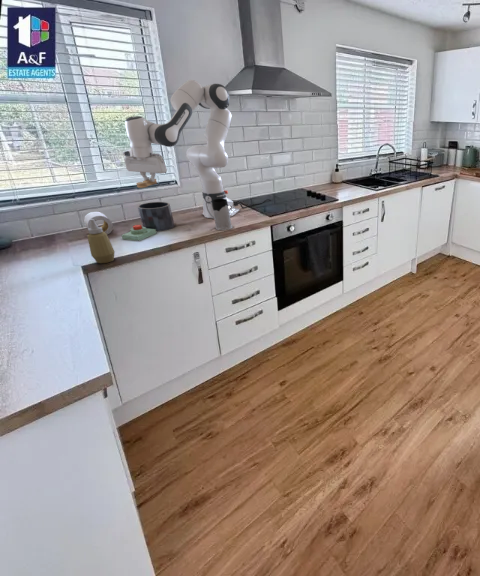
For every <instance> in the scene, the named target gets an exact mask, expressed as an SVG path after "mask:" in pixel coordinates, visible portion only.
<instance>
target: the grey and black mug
mask: <svg viewBox="0 0 480 576" xmlns="http://www.w3.org/2000/svg"><path fill="white" fill-rule="evenodd" d="M207 202H210V203H211V205H212V208H213V213H214V217H213V216H212V214H211V213H210V211H209V209H208V206H207ZM207 202H206V207H207V210H208V212H209V214H210V215H211V216H212V217H213V218H212V219H213V220H214V223H215V230H217V231H228V230H231V229H233V225H232V221H231V217H230V213H229V207H228V203H227V199H214V200H212V202H211V201H207Z"/></svg>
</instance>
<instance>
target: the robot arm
mask: <svg viewBox="0 0 480 576" xmlns="http://www.w3.org/2000/svg"><path fill="white" fill-rule="evenodd" d="M170 104H171V106H172V108H173V110H174V111H175V112H174V114H173V115H172V117H171V118H170V120H169V121H168V122H166V123H161V124H160V123H155V122H152V121H149V120H147V119H146V118H144V117H143V116H141V115H135V116H130V117H127V118H126V119H125V120H124V124H125V131H126V135H127V138H128V140H129V143H130V144H129V147H130V149H127V150H124V151H122V156H123V157H124V158H123V159H124V165H125V169H126V170H127V171H128V172H133V173H139V174H140V176H141V177H142V178H143V181H145V180H149V179H150V181H151V182H154V181H155V179H156V178H155V177H156V175H157V174H166V173H167V172H168V168H167V166H166V163H165V160H164V157H163V155H161V154H160V153H154V150H153V148H152V147H153V146H152V144H154V145H158V146H163V147H168V148H171V147H174V146H176V145H177V144H178V142H179V140H180V135H181V133H182V131H183V130H184V128H185V126H186V125H187V123H188V122H189V121H190V119H191V117H192V115H193V112H194V110H195V109H197V107H198V106H200V107H201V108H203V109H207V110H209V111H210V113H209V118H208V120H207V123H206V126H205V129H204V131H203V135H204V137H205V138H206V145H193V146H190V147H188V148H187V150H186V154H185V155H186V159H187V161H188V162H189V163H190V164H191V165H192V166H193V167H194V169H195V171H196V173H197V174H198V178H199V180H200V184H201V190H202V198H203V200H202V208H203V209H202V210H203V211H202V215H203V216H204V218H207V219H213V217H214V213H213V208H212V205H211V203H210V202H207V201H211V202H212V200H214V199H227V203H228V207H229V213H230V218H231V217H233V216H234V215H236V214H237V213H238V212H239V211H240V208H238V206H239V205H240V207H241V208H242V209H246V208H250V207H252V206H253V207H254V206H258V205H261V204H262V203H265V202H267V201H270V202H271V201H272V199H270V198H267V199H265V200H262V201H261V202H257V203H252V204H248V205H247V206H243V205H242V203H240V202H239V201H238V200H234V199H231V198H229V197H227V195H228V194H229V191H228V190H224V186H223V180H222V176H221V175H219V174H218V173H217V171H216V170H215V169H222V168H225V167H226V166H227V165H228V163H229V155H228V153H227V152H226V149H225V142H226V139H227V136H228V133H229V130H230V127H231V122H232V113H231V111H230V110H229V106H230V93H229V90H228V88H227V87H225V86H224V85H223V84H221V83H213V84H208V85H205V86H202V84H201V83H200V82H198V81H196V80H195V79H187V80H186V81H185V82H184V83H182V84H181V85H180V86H179V87H177V89H176V90H175V91H174V92H173V93H172V95H171V97H170ZM147 173H149V177H148V176H147ZM206 202H207V206H208V209H209V211H210V213H211V214H212V216H213V217H212V216H211V215H210V214H209V212H208V210H207V207H206Z"/></svg>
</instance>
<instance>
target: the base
mask: <svg viewBox="0 0 480 576" xmlns="http://www.w3.org/2000/svg"><path fill="white" fill-rule="evenodd" d="M156 234H157V231H156V229H148V228H146V227H143V226H142V229H139V230H134V229H133V227H131V228H129V232H125V233H124V234H121V239H122V240H128V241H136V242H137V241H142V240H144V239H146V238H148V237H151V236H153V235H156Z"/></svg>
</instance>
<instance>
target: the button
mask: <svg viewBox="0 0 480 576" xmlns="http://www.w3.org/2000/svg"><path fill="white" fill-rule="evenodd" d="M142 227H143V226H142V224H135V225H132V228H133V229H134V230H139V229H142Z"/></svg>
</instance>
